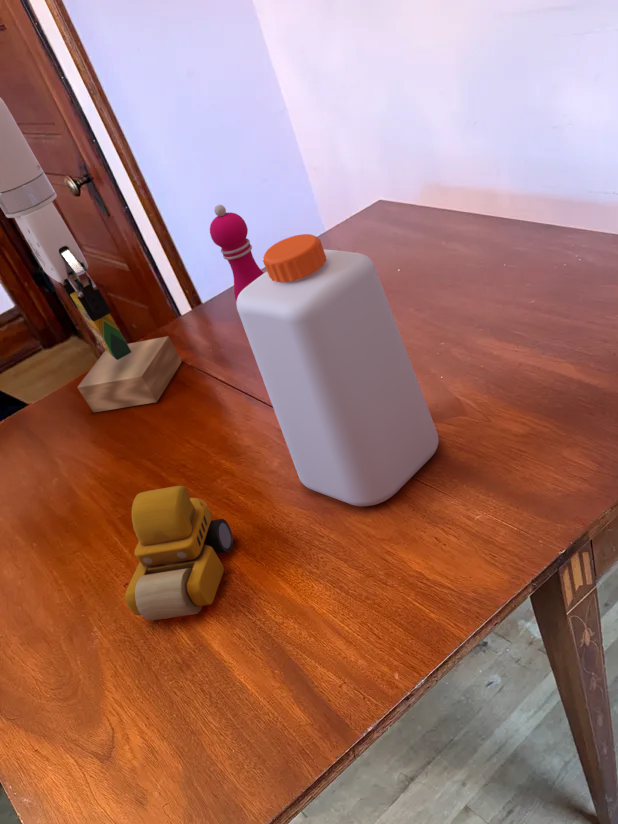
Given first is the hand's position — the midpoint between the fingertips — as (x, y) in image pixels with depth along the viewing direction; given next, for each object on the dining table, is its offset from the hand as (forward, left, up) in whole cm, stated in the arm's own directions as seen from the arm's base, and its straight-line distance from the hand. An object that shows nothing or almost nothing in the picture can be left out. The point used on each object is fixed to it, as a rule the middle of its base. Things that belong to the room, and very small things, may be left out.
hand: (93, 309), depth 116 cm
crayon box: (0, 0, -7) cm, 7 cm away
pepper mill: (+19, +16, -14) cm, 29 cm away
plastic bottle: (+46, -29, -14) cm, 56 cm away
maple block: (0, 0, -14) cm, 14 cm away
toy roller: (+27, -46, -14) cm, 55 cm away
